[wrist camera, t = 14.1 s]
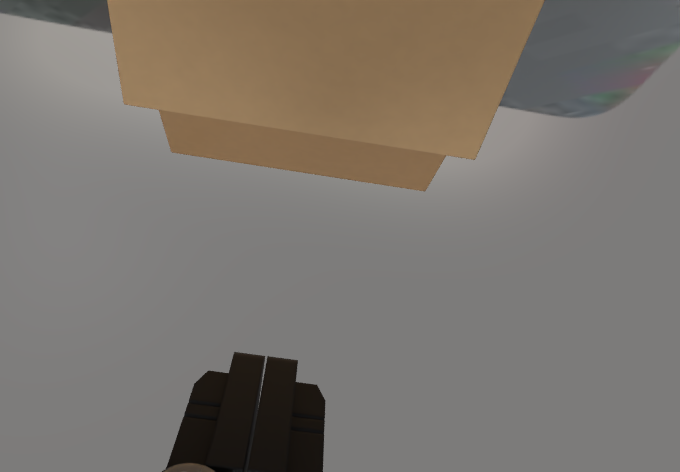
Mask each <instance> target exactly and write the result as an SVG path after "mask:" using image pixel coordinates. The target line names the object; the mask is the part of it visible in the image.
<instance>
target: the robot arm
mask: <svg viewBox="0 0 680 472" xmlns="http://www.w3.org/2000/svg"><path fill="white" fill-rule="evenodd" d="M264 361H265V356H260V355H252V354H246V353H238V352H234V355H233V359H232V363H231V367H230V371H229V373H222V372H214V371H208V372H207V373H205V374H204V375H203V376H202V377H201V378H200V379H199V380H198V381H197V382H196V383H195V384H194V387H193V390H192V393H191V396H190V399H189V403H188V405H187V408H186V411H185V415H184V417H183V420H182V423H181V426H180V429H179V432H178V435H177V438H176V441H175V444H174V447H173V450H172V453H171V456H170V459H169V462H168V465H167V467H166V470H164V471H162V472H323V448H324V422H325V421H324V418H325V399H324V397H323V396H322V394H321V392H320V390H319V388H318V386H317V385H313V384H306V383H299V382H296V372H297V364H298V360H291V359H284V358H276V357H269V356H268V358H267V363H266V369H265V374H264V380H263V386H262V391H261V383H262V376H263V369H264ZM260 391H261V397H260ZM259 398H260V402H259ZM258 406H259V408H258Z"/></svg>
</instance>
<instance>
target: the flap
mask: <svg viewBox="0 0 680 472" xmlns="http://www.w3.org/2000/svg"><path fill="white" fill-rule="evenodd" d="M544 1H545V0H107V3H108V9H109V15H110V21H111V27H112V34H113V39H114V46H115V52H116V58H117V64H118V71H119V77H120V83H121V89H122V95H123V102H124V104H126V105H131V106H138V107H144V108H150V109H157V110H163V111H169V112H176V113H182V114H188V115H194V116H201V117H207V118H213V119H220V120H226V121H232V122H239V123H245V124H251V125H258V126H264V127H270V128H277V129H283V130H289V131H296V132H302V133H308V134H315V135H321V136H327V137H333V138H340V139H346V140H352V141H359V142H365V143H371V144H378V145H384V146H390V147H397V148H403V149H409V150H416V151H422V152H428V153H435V154H441V155H447V156H454V157H460V158H466V159H473V160H475V159H476V157H477V154H478V152H479V150H480V147H481V145H482V143H483V140H484V138H485V136H486V134H487V131H488V129H489V127H490V124H491V122H492V120H493V118H494V115H495V113H496V111H497V108H498V106H499V104H500V102H501V99H502V97H503V95H504V92H505V90H506V88H507V86H508V83H509V81H510V79H511V76H512V74H513V72H514V69H515V67H516V65H517V63H518V60H519V58H520V56H521V53H522V51H523V49H524V47H525V44H526V42H527V40H528V37H529V35H530V33H531V31H532V28H533V26H534V24H535V21H536V19H537V17H538V15H539V12H540V10H541V8H542V5H543V3H544Z"/></svg>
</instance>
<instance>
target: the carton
mask: <svg viewBox="0 0 680 472" xmlns="http://www.w3.org/2000/svg"><path fill="white" fill-rule="evenodd" d="M159 112H160V115H161V119H162V122H163V126H164V129H165V132H166V135H167V139H168V142H169V146H170V149H171V152H173V153H179V154H186V155H192V156H199V157H206V158H212V159H218V160H225V161H231V162H238V163H244V164H251V165H257V166H264V167H270V168H277V169H283V170H290V171H296V172H303V173H309V174H315V175H322V176H329V177H335V178H341V179H348V180H355V181H361V182H368V183H374V184H381V185H387V186H393V187H400V188H407V189H413V190H419V191H426V189H427V187H428V186H429V184H430V182H431V181H432V179H433V177H434V176H435V174H436V172H437V170H438V169H439V167H440V165H441V164H442V162H443V160H444V158H445V157H446V155H441V154H435V153H428V152H422V151H416V150H409V149H403V148H397V147H390V146H384V145H378V144H371V143H365V142H359V141H352V140H346V139H340V138H333V137H327V136H321V135H315V134H308V133H302V132H296V131H289V130H283V129H277V128H270V127H264V126H258V125H251V124H245V123H239V122H232V121H226V120H220V119H213V118H207V117H201V116H194V115H188V114H182V113H176V112H169V111H163V110H159Z"/></svg>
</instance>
